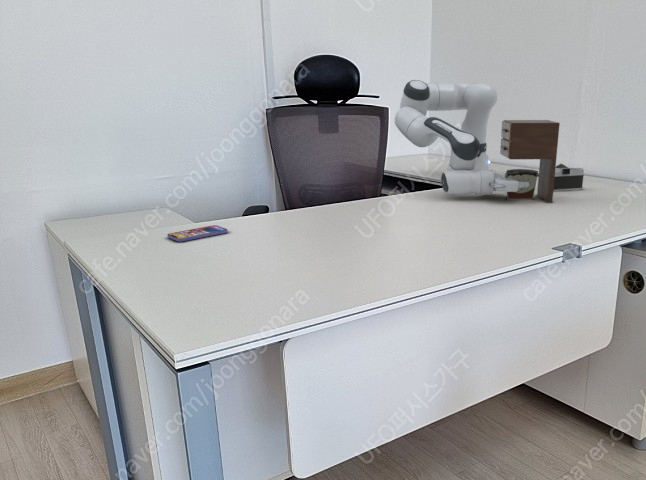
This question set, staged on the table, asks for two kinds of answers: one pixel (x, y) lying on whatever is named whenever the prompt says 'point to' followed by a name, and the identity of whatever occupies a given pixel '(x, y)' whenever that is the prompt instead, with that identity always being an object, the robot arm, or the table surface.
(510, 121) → the drawer unit
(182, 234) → the smartphone
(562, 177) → the camera
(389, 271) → the table surface
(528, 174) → the food container
